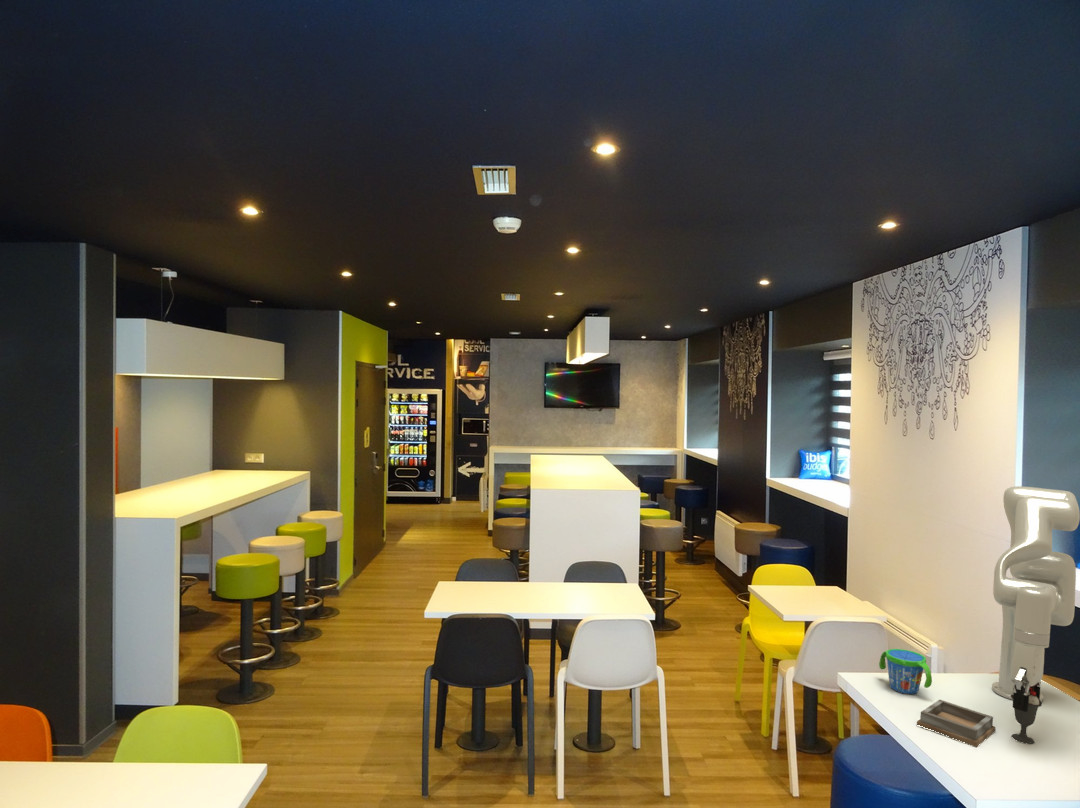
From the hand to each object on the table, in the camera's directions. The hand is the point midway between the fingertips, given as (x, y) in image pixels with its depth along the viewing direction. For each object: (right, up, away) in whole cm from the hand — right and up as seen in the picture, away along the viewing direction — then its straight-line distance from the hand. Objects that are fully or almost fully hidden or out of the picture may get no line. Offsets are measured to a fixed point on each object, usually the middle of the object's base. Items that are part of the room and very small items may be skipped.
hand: (1026, 705), depth 191 cm
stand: (-15, -8, +5) cm, 18 cm away
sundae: (0, -9, +1) cm, 9 cm away
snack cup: (-17, -7, +29) cm, 34 cm away
